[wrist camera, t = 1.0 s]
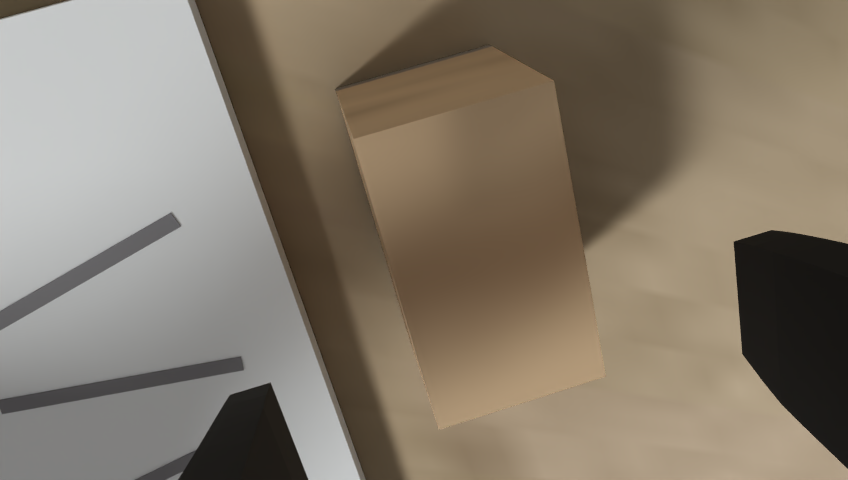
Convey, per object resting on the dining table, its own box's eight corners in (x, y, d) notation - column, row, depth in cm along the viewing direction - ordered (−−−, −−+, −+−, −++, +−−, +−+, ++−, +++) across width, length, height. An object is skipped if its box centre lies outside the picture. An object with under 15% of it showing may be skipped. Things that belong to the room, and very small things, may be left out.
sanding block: (537, 283, 22) (605, 376, 18) (405, 325, 22) (439, 430, 17) (488, 44, 19) (553, 80, 15) (334, 88, 19) (353, 138, 14)
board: (389, 545, 25) (394, 575, 23) (81, 646, 24) (72, 681, 23) (183, -32, 17) (176, -29, 16) (-268, 91, 17) (-308, 103, 15)
